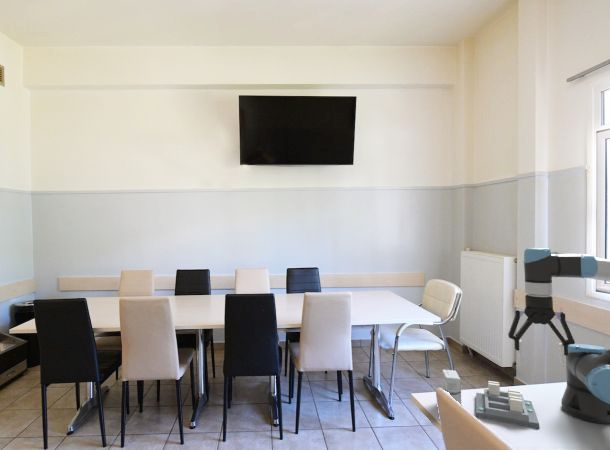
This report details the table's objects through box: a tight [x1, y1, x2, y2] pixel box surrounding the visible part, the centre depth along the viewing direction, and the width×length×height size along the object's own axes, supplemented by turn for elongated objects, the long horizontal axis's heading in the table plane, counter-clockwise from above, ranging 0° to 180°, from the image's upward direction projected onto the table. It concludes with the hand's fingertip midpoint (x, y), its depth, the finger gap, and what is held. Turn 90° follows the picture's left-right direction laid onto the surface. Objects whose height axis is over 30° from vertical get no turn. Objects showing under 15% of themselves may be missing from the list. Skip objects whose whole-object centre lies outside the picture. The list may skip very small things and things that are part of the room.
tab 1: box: [488, 380, 501, 396], centre depth 132 cm, size 4×3×6 cm
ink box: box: [442, 369, 462, 405], centre depth 129 cm, size 8×5×12 cm, turn 168°
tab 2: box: [507, 389, 521, 404], centre depth 124 cm, size 4×3×6 cm
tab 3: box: [509, 396, 523, 413], centre depth 119 cm, size 4×3×6 cm
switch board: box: [475, 388, 540, 429], centre depth 125 cm, size 18×17×4 cm
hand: (541, 362), depth 117 cm, fingers open, 11 cm apart
